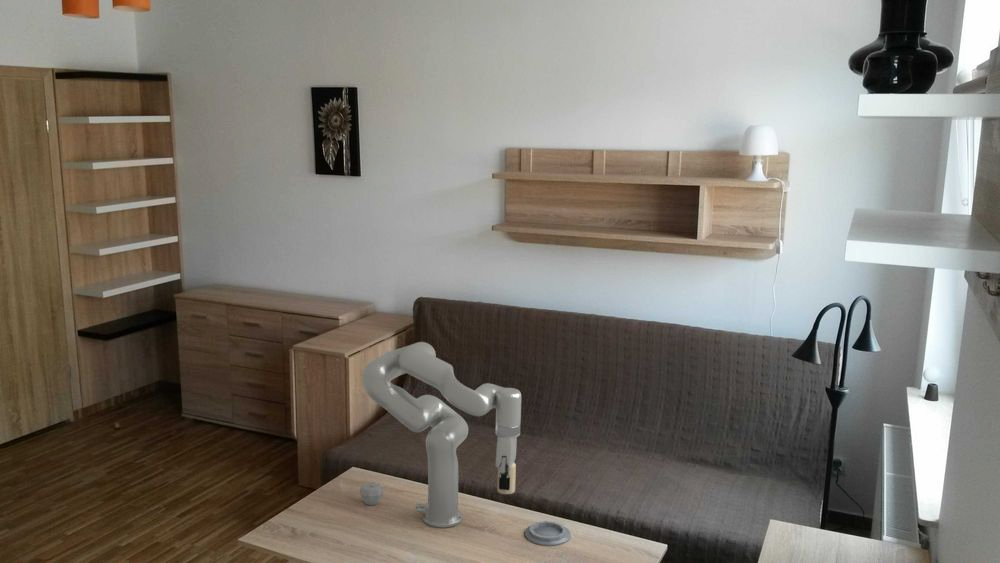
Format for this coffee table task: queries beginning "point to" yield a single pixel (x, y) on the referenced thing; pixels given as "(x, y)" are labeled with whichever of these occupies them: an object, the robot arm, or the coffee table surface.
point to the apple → (371, 493)
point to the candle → (512, 480)
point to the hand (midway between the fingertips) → (506, 484)
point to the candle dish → (547, 533)
